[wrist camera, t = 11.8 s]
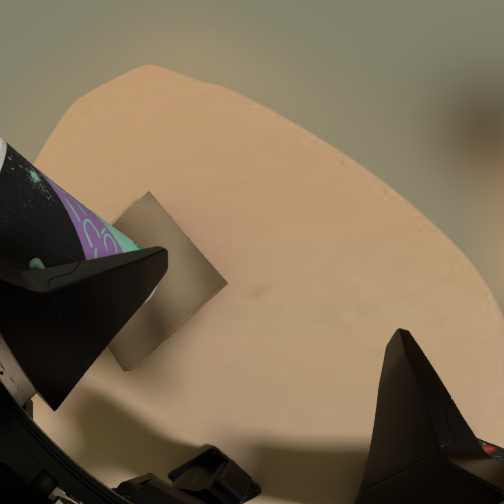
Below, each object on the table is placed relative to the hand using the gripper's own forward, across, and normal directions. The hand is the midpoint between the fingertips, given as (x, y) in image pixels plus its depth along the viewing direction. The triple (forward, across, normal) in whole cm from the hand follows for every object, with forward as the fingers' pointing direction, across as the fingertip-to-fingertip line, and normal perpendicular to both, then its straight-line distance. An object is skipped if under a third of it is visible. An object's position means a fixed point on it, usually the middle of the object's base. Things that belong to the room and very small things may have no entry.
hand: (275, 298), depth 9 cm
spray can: (+7, +13, +9) cm, 18 cm away
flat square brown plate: (+9, +13, +10) cm, 19 cm away
